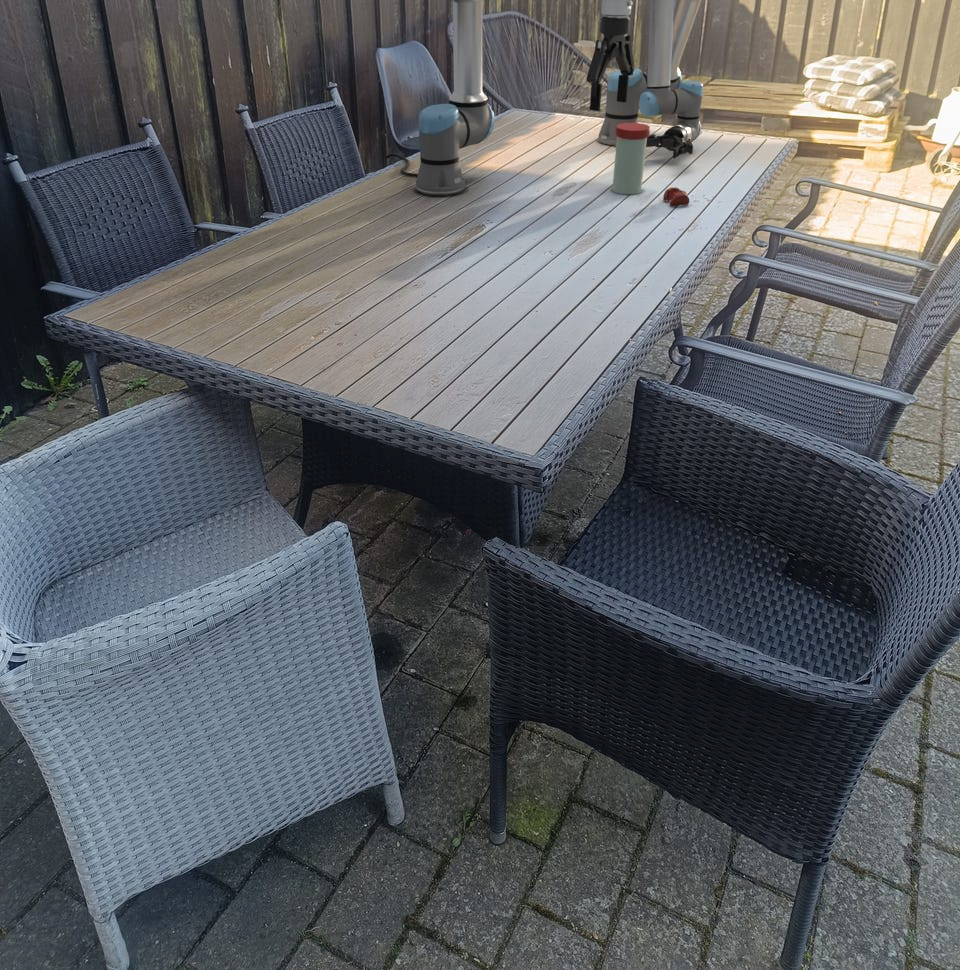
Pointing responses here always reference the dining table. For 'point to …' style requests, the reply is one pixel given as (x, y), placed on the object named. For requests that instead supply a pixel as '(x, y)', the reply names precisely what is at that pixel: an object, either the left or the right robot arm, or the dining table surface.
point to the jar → (629, 165)
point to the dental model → (676, 197)
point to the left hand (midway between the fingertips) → (608, 106)
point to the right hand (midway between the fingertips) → (653, 151)
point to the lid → (632, 131)
